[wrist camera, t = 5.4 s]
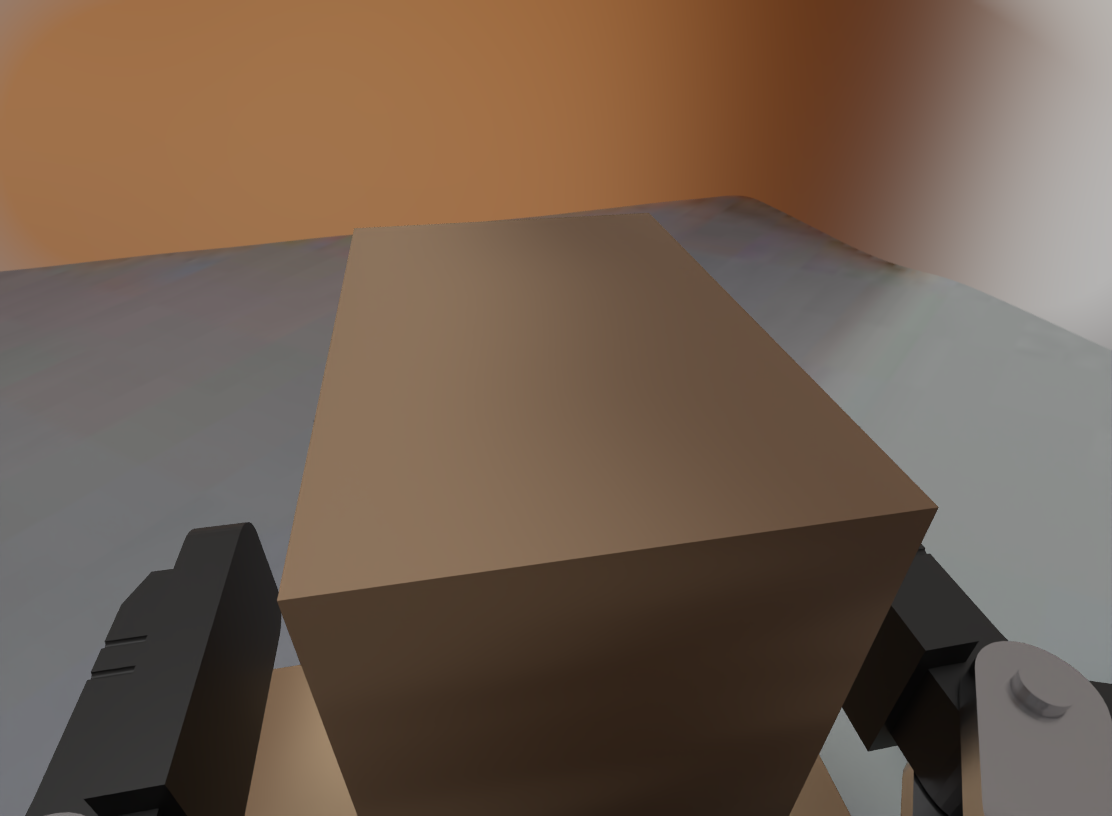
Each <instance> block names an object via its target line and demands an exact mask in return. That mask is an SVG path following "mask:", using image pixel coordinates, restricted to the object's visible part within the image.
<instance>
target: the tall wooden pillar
mask: <svg viewBox="0 0 1112 816" xmlns="http://www.w3.org/2000/svg"><path fill="white" fill-rule="evenodd" d="M937 510H938V506H937V505H936V504H935V503H934V502H933V501H932V500H931V499H930V498H929V497H928V496H927V495H926V494H925V493H924V492H923V491H922V490H921V489H920V488H919V487H918V486H917V485H916V484H915V483H914V482H913V481H912V480H911V479H910V478H909V477H908V476H907V475H906V474H905V473H904V472H903V471H902V470H901V469H900V468H899V467H898V466H897V465H896V464H895V462H894V461H893V460H892V459H891V458H890V457H889V456H888V455H887V454H886V453H885V452H884V451H883V450H882V449H881V448H880V447H879V446H878V445H877V444H876V443H875V442H874V441H873V440H872V439H871V438H870V437H869V436H868V435H867V434H866V433H865V432H864V431H863V430H862V429H861V428H860V427H859V426H858V425H857V424H856V423H855V422H854V421H853V420H852V419H851V418H850V417H849V416H848V415H847V414H846V413H845V412H844V411H843V410H842V409H841V408H840V407H839V406H838V405H837V404H836V403H835V402H834V401H833V400H832V398H831V397H830V396H829V395H828V394H827V393H826V392H825V391H824V390H823V389H822V388H821V387H820V386H819V385H818V384H817V383H816V382H815V381H814V380H813V379H812V378H811V377H810V376H809V375H808V374H807V373H806V372H805V371H804V370H803V369H802V368H801V367H800V366H799V365H798V364H797V363H796V362H795V361H794V360H793V359H792V358H791V357H790V356H789V355H788V354H787V353H786V352H785V351H784V350H783V349H782V348H781V347H780V346H779V345H778V344H777V343H776V342H775V341H774V340H773V339H772V338H771V337H770V336H769V334H768V333H767V332H766V331H765V330H764V329H763V328H762V327H761V326H760V325H759V324H758V323H757V322H756V321H755V320H754V319H753V318H752V317H751V316H750V315H749V314H748V313H747V312H746V311H745V310H744V309H743V308H742V307H741V306H740V305H739V304H738V303H737V302H736V301H735V300H734V299H733V298H732V297H731V296H730V295H729V294H728V293H727V292H726V291H725V290H724V289H723V288H722V287H721V286H720V285H719V284H718V283H717V282H716V281H715V280H714V279H713V278H712V277H711V276H710V275H709V274H708V273H707V272H706V271H705V269H704V268H703V267H702V266H701V265H700V264H699V263H698V262H697V261H696V260H695V259H694V258H693V257H692V256H691V255H690V254H689V253H688V252H687V251H686V250H685V249H684V248H683V247H682V246H681V245H680V244H679V243H678V242H677V241H676V240H675V239H674V238H673V237H672V236H671V235H670V234H669V233H668V232H667V231H666V230H665V229H664V228H663V227H662V226H661V225H660V224H659V223H658V222H657V221H656V220H655V219H654V218H653V217H652V216H651V215H650V214H649V213H639V214H621V215H602V216H583V217H564V218H545V219H526V220H507V221H488V222H469V223H450V224H431V225H413V226H394V227H374V228H356V229H354V232H353V237H352V242H351V247H350V251H349V256H348V261H347V266H346V271H345V275H344V280H343V285H342V290H341V295H340V300H339V304H338V309H337V314H336V319H335V324H334V328H333V333H332V338H331V343H330V348H329V353H328V357H327V362H326V367H325V372H324V377H323V382H322V386H321V391H320V396H319V401H318V406H317V410H316V415H315V420H314V425H313V430H312V435H311V439H310V444H309V449H308V454H307V459H306V463H305V468H304V473H303V478H302V483H301V488H300V492H299V497H298V502H297V507H296V512H295V516H294V521H293V526H292V531H291V536H290V541H289V545H288V550H287V555H286V560H285V565H284V570H283V574H282V579H281V584H280V589H279V594H278V598H277V602H278V605H279V608H280V610H281V613H282V616H283V618H284V621H285V624H286V626H287V629H288V632H289V634H290V637H291V640H292V642H293V645H294V648H295V650H296V653H297V656H298V658H299V661H300V664H301V666H302V669H303V672H304V674H305V677H306V680H307V682H308V685H309V688H310V690H311V693H312V696H313V698H314V701H315V704H316V706H317V709H318V712H319V714H320V717H321V720H322V722H323V725H324V728H325V730H326V733H327V736H328V738H329V741H330V744H331V746H332V749H333V752H334V754H335V757H336V760H337V762H338V765H339V768H340V770H341V773H342V776H343V778H344V781H345V784H346V786H347V789H348V792H349V794H350V797H351V800H352V802H353V805H354V808H355V810H356V813H357V816H789V815H790V813H791V811H792V809H793V807H794V805H795V803H796V800H797V798H798V796H799V794H800V792H801V790H802V788H803V786H804V784H805V782H806V780H807V778H808V776H809V774H810V772H811V769H812V767H813V765H814V763H815V761H816V759H817V757H818V755H819V753H820V751H821V749H822V747H823V745H824V743H825V741H826V739H827V736H828V734H829V732H830V730H831V728H832V726H833V724H834V722H835V720H836V718H837V716H838V714H839V712H840V710H841V708H842V706H843V703H844V701H845V699H846V697H847V695H848V693H849V691H850V689H851V687H852V685H853V683H854V681H855V679H856V677H857V675H858V673H859V670H860V668H861V666H862V664H863V662H864V660H865V658H866V656H867V654H868V652H869V650H870V648H871V646H872V644H873V642H874V640H875V637H876V635H877V633H878V631H879V629H880V627H881V625H882V623H883V621H884V619H885V617H886V615H887V613H888V611H889V609H890V607H891V604H892V602H893V600H894V598H895V596H896V594H897V592H898V590H899V588H900V586H901V584H902V582H903V580H904V578H905V576H906V573H907V571H908V569H909V567H910V565H911V563H912V561H913V559H914V557H915V555H916V553H917V551H918V549H919V547H920V545H921V543H922V540H923V538H924V536H925V534H926V532H927V530H928V528H929V526H930V524H931V522H932V520H933V518H934V516H935V514H936V512H937Z"/></svg>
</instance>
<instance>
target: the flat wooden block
mask: <svg viewBox="0 0 1112 816" xmlns="http://www.w3.org/2000/svg"><path fill="white" fill-rule="evenodd" d="M245 816H357V813H356V810H355V808H354V805H353V802H352V800H351V797H350V794H349V792H348V789H347V786H346V784H345V781H344V778H343V776H342V773H341V770H340V768H339V765H338V762H337V760H336V757H335V754H334V752H333V749H332V746H331V744H330V741H329V738H328V736H327V733H326V730H325V728H324V725H323V722H322V720H321V717H320V714H319V712H318V709H317V706H316V704H315V701H314V698H313V696H312V693H311V690H310V688H309V685H308V682H307V680H306V677H305V674H304V672H303V669H302V666H301V665H297V666H291V667H285V668H278V669H273V672H272V677H271V682H270V687H269V693H268V698H267V703H266V708H265V713H264V718H263V724H262V729H261V734H260V739H259V744H258V749H257V755H256V760H255V765H254V770H253V775H252V780H251V786H250V791H249V796H248V801H247V806H246V811H245ZM789 816H851V815H850V813H849V811H848V809H847V807H846V805H845V804H844V802H843V800H842V798H841V796H840V794H839V792H838V790H837V788H836V786H835V784H834V782H833V781H832V779H831V777H830V775H829V773H828V771H827V769H826V767H825V765H824V763H823V761H822V760H821V758H820V756H819V755H818V757H817V759H816V761H815V763H814V765H813V767H812V769H811V772H810V774H809V776H808V778H807V780H806V782H805V784H804V786H803V788H802V790H801V792H800V794H799V796H798V798H797V800H796V803H795V805H794V807H793V809H792V811H791V813H790V815H789Z"/></svg>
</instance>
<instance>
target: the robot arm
mask: <svg viewBox="0 0 1112 816" xmlns="http://www.w3.org/2000/svg"><path fill="white" fill-rule="evenodd" d="M278 594H279V592H278V589H277V586H276V583H275V580H274V578H273V575H272V572H271V570H270V567H269V564H268V561H267V559H266V556H265V553H264V551H263V548H262V545H261V542H260V540H259V537H258V534H257V532H256V529H255V528H254V526H253V525H252V524H251V523H249V522H246V523H238V524H230V525H221V526H213V527H205V528H197V529H193V530H191V531H190V532H189V533H188V535H187V536H186V538H185V541H184V543H183V546H182V548H181V551H180V553H179V556H178V558H177V561H176V564H175V566H174V569H169V570H162V571H154V572H151V573H150V574H149V575H148V576H147V577H146V579H145V580H144V581H143V582H142V583H141V584H140V585H139V586H138V587H137V588H136V589H135V590H134V592H133V593H132V594H131V595H130V596H129V597H128V598H127V599H126V600H125V601H124V602H123V604H122V605H121V607H120V609H119V611H118V613H117V615H116V618H115V620H114V622H113V624H112V627H111V629H110V631H109V633H108V635H107V638H106V640H105V644H106V645H105V648H103V649H101V651H100V653H99V655H98V658H97V660H96V662H95V664H94V666H93V669H92V671H91V674H92V677H91V680H87V682H86V684H85V686H84V689H83V691H82V693H81V695H80V697H79V700H78V702H77V704H76V706H75V709H74V711H73V713H72V715H71V717H70V720H69V722H68V724H67V726H66V728H65V731H64V733H63V735H62V737H61V740H60V742H59V744H58V746H57V748H56V751H55V753H54V755H53V757H52V760H51V762H50V764H49V766H48V768H47V771H46V773H45V775H44V777H43V779H42V782H41V784H40V786H39V788H38V791H37V793H36V795H35V797H34V799H33V802H32V804H31V805H30V807H29V809H28V811H27V813H26V815H25V816H245V811H246V806H247V801H248V796H249V791H250V786H251V780H252V775H253V770H254V765H255V760H256V755H257V749H258V744H259V739H260V734H261V729H262V724H263V718H264V713H265V708H266V703H267V698H268V693H269V687H270V682H271V677H272V672H273V667H274V662H275V656H276V651H277V646H278V641H279V636H280V629H281V610H280V608H279V605H278V602H277V598H278ZM842 708H843V710H844V711H845V713H846V715H847V716H848V718H849V720H850V721H851V723H852V725H853V727H854V728H855V730H856V732H857V733H858V735H859V737H860V739H861V740H862V742H863V744H864V745H865V747H866V749H867V750H868V751H873V750H878V749H883V748H887V747H892V746H897V745H898V747H899V748H900V750H901V751H902V753H903V755H904V756H905V758H906V759H907V761H908V762H907V763H906V765H905V768H904V770H903V777H902V798H901V816H1112V684H1108V683H1101V682H1094V681H1088V680H1087V679H1086V678H1085V677H1084V676H1083V675H1082V674H1081V673H1080V672H1079V671H1077V670H1076V669H1075V668H1073V667H1072V666H1071V665H1069V664H1068V663H1067V662H1065V661H1063V660H1062V659H1060V658H1059V657H1057V656H1055V655H1053V654H1051V653H1049V652H1047V651H1045V650H1043V649H1040V648H1038V647H1035V646H1032V645H1028V644H1025V643H1020V642H1014V641H1008V640H1007V639H1006V638H1005V637H1004V636H1003V635H1002V634H1001V633H1000V632H999V631H998V630H997V628H996V627H995V626H994V625H993V624H992V623H991V622H990V621H989V619H988V618H987V617H986V616H985V615H984V614H983V613H982V612H981V610H980V609H979V608H978V607H977V606H976V605H975V604H974V603H973V601H972V600H971V599H970V598H969V597H968V596H967V595H966V594H965V592H964V591H963V590H962V589H961V588H960V587H959V586H958V585H957V583H956V582H955V581H954V580H953V579H952V578H951V577H950V576H949V574H948V573H947V572H946V571H945V570H944V569H943V568H942V567H941V565H940V564H939V563H938V562H937V561H936V560H935V559H934V558H933V556H932V555H931V554H926V552H925V547H924V546H923V545H922V544H921V545H920V547H919V549H918V551H917V553H916V555H915V557H914V559H913V561H912V563H911V565H910V567H909V569H908V571H907V573H906V576H905V578H904V580H903V582H902V584H901V586H900V588H899V590H898V592H897V594H896V596H895V598H894V600H893V602H892V604H891V607H890V609H889V611H888V613H887V615H886V617H885V619H884V621H883V623H882V625H881V627H880V629H879V631H878V633H877V635H876V637H875V640H874V642H873V644H872V646H871V648H870V650H869V652H868V654H867V656H866V658H865V660H864V662H863V664H862V666H861V668H860V670H859V673H858V675H857V677H856V679H855V681H854V683H853V685H852V687H851V689H850V691H849V693H848V695H847V697H846V699H845V701H844V703H843V706H842Z"/></svg>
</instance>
